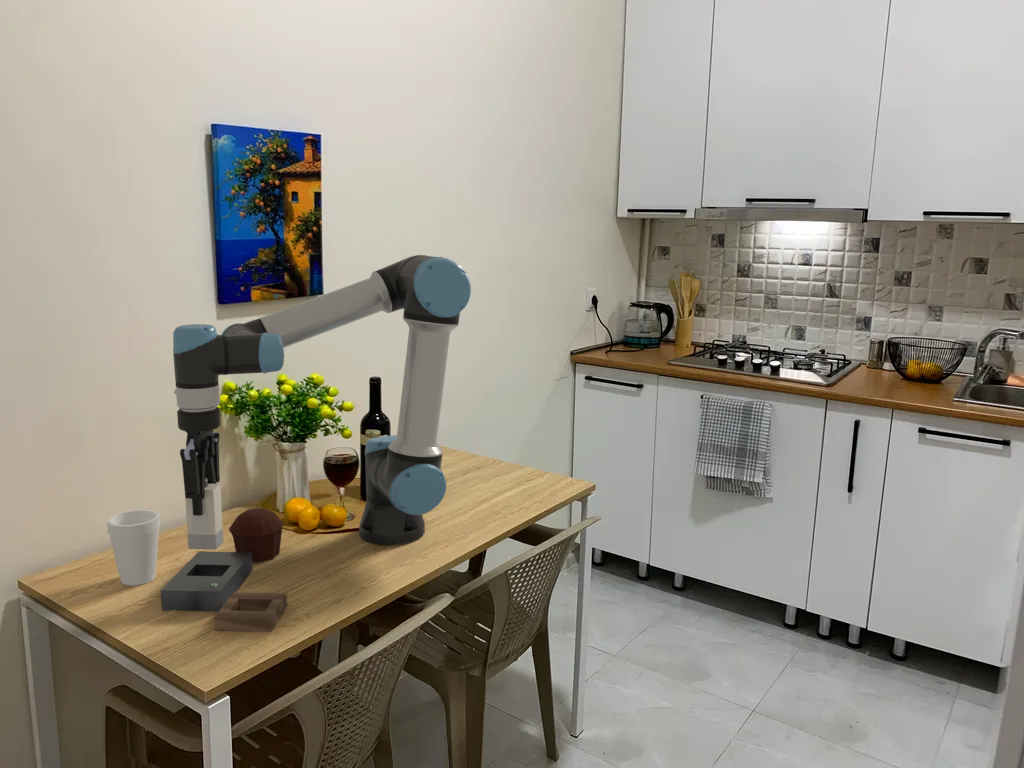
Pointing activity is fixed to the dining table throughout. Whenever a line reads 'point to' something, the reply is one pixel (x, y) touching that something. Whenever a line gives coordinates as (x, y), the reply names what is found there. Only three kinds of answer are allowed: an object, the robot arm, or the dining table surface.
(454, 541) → the dining table surface
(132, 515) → the foam cup
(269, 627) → the brown wooden square frame
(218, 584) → the switch box
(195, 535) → the plug
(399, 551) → the dining table surface
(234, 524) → the muffin
